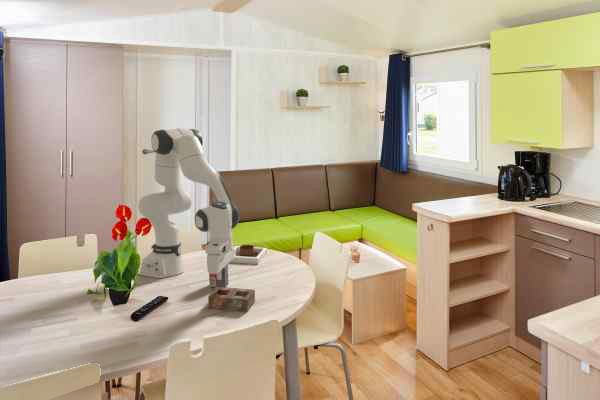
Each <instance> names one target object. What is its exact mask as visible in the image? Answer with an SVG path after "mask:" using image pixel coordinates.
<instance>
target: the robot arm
mask: <svg viewBox="0 0 600 400" xmlns="http://www.w3.org/2000/svg"><path fill="white" fill-rule="evenodd" d="M150 140H151V148H152V150H153V152H154V153H155V158H154V180H155V182H156V183H157V184H159V185H161V186H162V187H164V191H163V192H157V193H150V194H146V195H145V196H142V197H141V198H140V199H139V200H138V205H137V208H138V209H137V210H138V211H139V213H140V214H141V216H143V217H144V218H145V219H147V220H148V219H149V220H150V221H149V222H150V223H151V225H152V227H153V230H154V236H155V237H154V238H155V243H154V244H153V245H151V246H150V249H152V251H151V252H150V253H148V254H147V255H145V257H143V259H142V260H141V263H140V267H141V268H140V267H139V268H140V271H139V275H138V276H144V277H150V278H156V279H164V278H167V277H169V278H170V277H174V276H178V275H181V274H183V273H184V272H185V271H186V269H185V267H184V264H183V263H184V262H183V259H182V242H181V238H180V237H181V235H180V228H179V227H180V226H179V225H177V224H176V223H175V222H173V221H170V218H169V216H170V215H177V214H181V213H184V212H187V211H188V210H190V209H191V206H192V203H193V199H192V196H191V194H190V193H189V192H188V191H187V190H185V188H184V187H183V186H182V184H181V172H182V174H183V176H184V177H185V178H186V179H188V180H189V181H191V182H194V183H197V184H198V183H199V184H201V185H205V186H206V187H209V188H211V190H212V192H213V193H214V195H215V197H216V199H217V201H213V202H211V203H209V205H208V206H207V207H203V208H200V209H198V210H197V211H196V213H195V215H194V225H195V228H196V229H198V230H199V231H200V232H202V233H203V232H204V233H207V232H208V233H209V237H208V239H209V240H208V243H207V246H206V247H205V254H206V266H207V267H206V268H207V272H208V274H209V273H210V274H216V275H217V279H218V280H221V279H222V278H223V274H222V273H221V272H222V269H223V268H224V267H225V266H226V265H228V266H229V264H230V263H231V262H230V261H231V260H232V259H233V258H234V256H235V255H234V249H233V248H234V243H233V233H232V229H235V227H237V225H238V224H239V222H240V219H241V216H240V212H239V209H238V208H237V205H235V203H234V201H233V200H232V198H231V195H230V193H229V192H228V189H227V187H226V185H225V182H224V180H223V179H222V177H221V175H220V172H218V171H217V170H216V169H214V168H213V167H212V166H211V165H210V163H209V162H208V159H207V156H206V153H205V151H204V148H203V142H204V141H203V135H202V134H201V132H200V131H199V130H197V129H194V128H189V129H188V128H171V129H158V130H155V131H154V132H153V133H152V136H151V139H150Z"/></svg>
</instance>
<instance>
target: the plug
mask: <svg viewBox="0 0 600 400" xmlns="http://www.w3.org/2000/svg"><path fill="white" fill-rule="evenodd" d="M221 273H222V274H223V278H222V279H221V280H218V279H217V275H216V281H217V287H224V288H227V287H228V285H229V264H228V265H226V266H225V267H224V268H223V269H222V272H221Z"/></svg>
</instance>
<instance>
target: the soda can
mask: <svg viewBox="0 0 600 400" xmlns="http://www.w3.org/2000/svg"><path fill="white" fill-rule="evenodd" d="M208 278H209V279H208V282H209V286H210V287H211V288H214V289H216V288H217V281H216V274H210V273H209V272H208Z"/></svg>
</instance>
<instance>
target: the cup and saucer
mask: <svg viewBox="0 0 600 400" xmlns="http://www.w3.org/2000/svg"><path fill="white" fill-rule="evenodd" d="M239 246H240V252H237V253H236V254H235V256H243V257H257V256H258V255H259V254H258V253H257V252H254V247H255V246H254V245H252V244H242V245H239Z"/></svg>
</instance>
